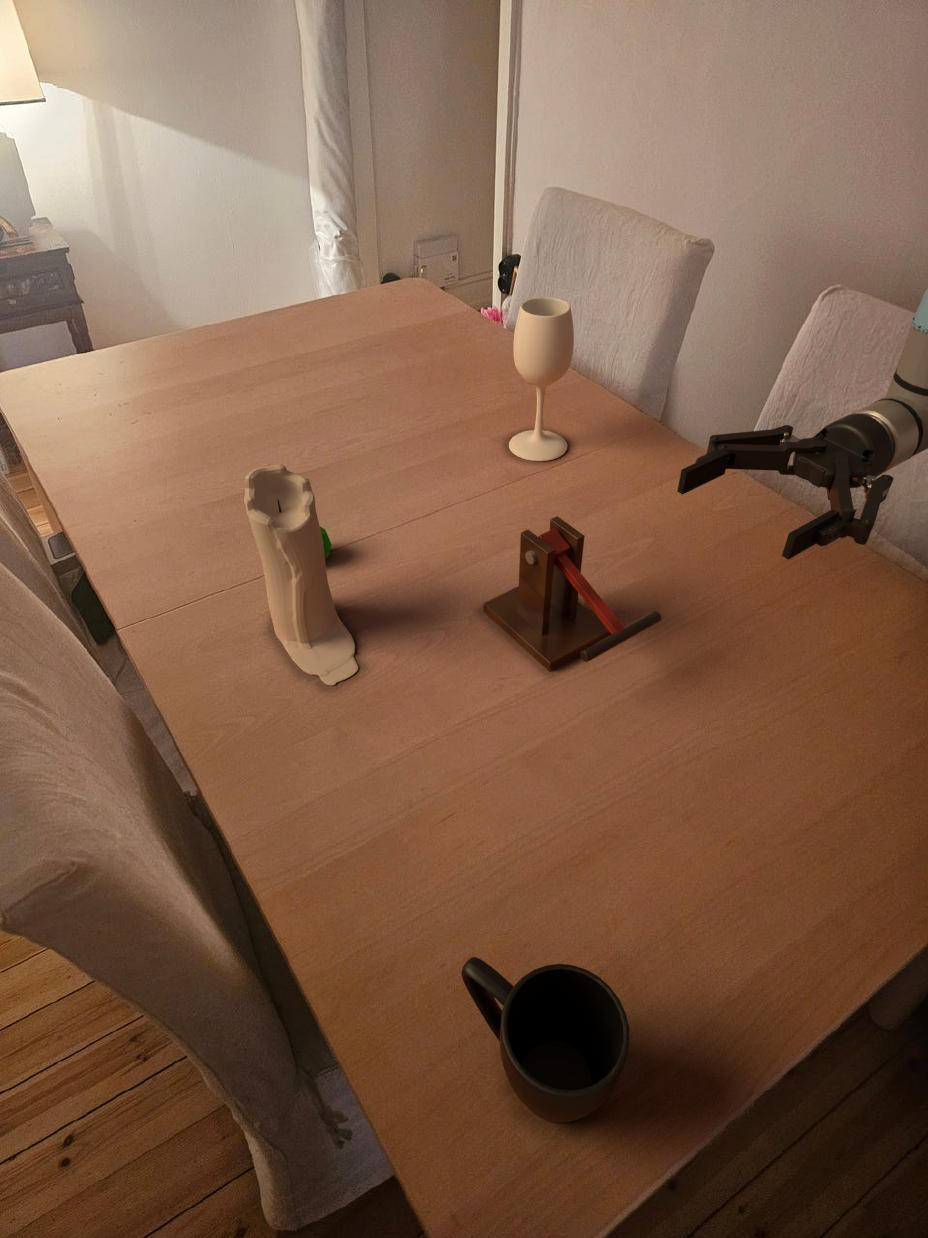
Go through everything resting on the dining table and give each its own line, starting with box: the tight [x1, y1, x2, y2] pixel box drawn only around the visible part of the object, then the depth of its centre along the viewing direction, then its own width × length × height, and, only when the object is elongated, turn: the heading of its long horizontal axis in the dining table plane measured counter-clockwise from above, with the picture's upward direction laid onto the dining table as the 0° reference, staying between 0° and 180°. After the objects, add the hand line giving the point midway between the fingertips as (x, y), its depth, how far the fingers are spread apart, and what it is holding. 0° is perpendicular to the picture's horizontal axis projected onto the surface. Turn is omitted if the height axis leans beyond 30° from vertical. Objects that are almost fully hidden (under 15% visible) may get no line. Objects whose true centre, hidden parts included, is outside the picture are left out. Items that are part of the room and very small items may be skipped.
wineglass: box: [508, 296, 575, 462], centre depth 115 cm, size 9×9×21 cm
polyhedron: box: [319, 525, 332, 559], centre depth 101 cm, size 5×5×5 cm
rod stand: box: [482, 515, 612, 672], centre depth 89 cm, size 12×9×13 cm
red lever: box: [538, 528, 662, 663], centre depth 84 cm, size 14×10×2 cm
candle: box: [243, 463, 359, 686], centre depth 85 cm, size 7×14×20 cm, turn 32°
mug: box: [461, 956, 631, 1124], centre depth 56 cm, size 8×12×10 cm
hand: (732, 512), depth 82 cm, fingers open, 13 cm apart
